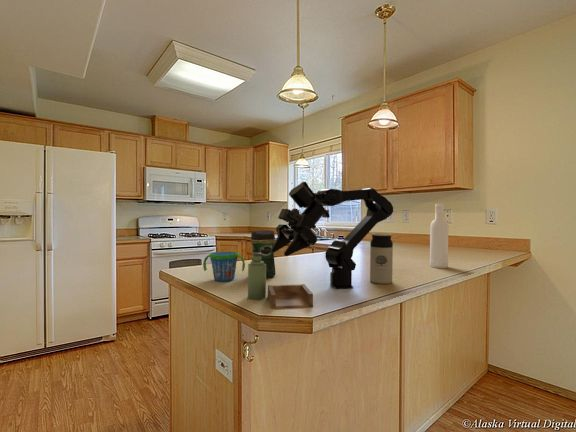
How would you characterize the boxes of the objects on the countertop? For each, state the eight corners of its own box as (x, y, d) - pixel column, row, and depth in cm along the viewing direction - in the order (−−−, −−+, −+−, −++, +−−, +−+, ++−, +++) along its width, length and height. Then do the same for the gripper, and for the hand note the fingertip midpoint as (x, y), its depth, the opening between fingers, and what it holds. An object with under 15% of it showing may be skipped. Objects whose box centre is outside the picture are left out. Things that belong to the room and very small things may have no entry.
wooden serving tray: (304, 295, 97) (304, 284, 97) (313, 307, 85) (313, 293, 85) (267, 297, 95) (267, 285, 95) (271, 308, 84) (271, 295, 84)
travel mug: (373, 278, 122) (373, 232, 122) (394, 281, 118) (394, 233, 118) (367, 282, 115) (367, 233, 115) (389, 285, 111) (390, 234, 111)
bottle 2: (425, 265, 152) (426, 204, 151) (437, 264, 155) (438, 204, 155) (440, 268, 144) (441, 203, 144) (451, 267, 148) (452, 204, 147)
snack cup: (198, 281, 115) (198, 254, 115) (210, 276, 125) (210, 250, 125) (239, 283, 112) (239, 255, 112) (248, 277, 123) (248, 251, 123)
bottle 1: (264, 294, 98) (265, 251, 98) (266, 299, 93) (267, 254, 92) (247, 295, 97) (248, 251, 97) (248, 300, 92) (248, 254, 91)
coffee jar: (270, 273, 131) (270, 229, 130) (277, 277, 123) (278, 230, 123) (248, 275, 127) (248, 229, 126) (254, 279, 119) (254, 230, 119)
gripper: (281, 201, 108) (251, 233, 104) (308, 199, 92) (274, 238, 87) (301, 223, 112) (272, 256, 107) (330, 225, 95) (298, 264, 90)
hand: (278, 253), depth 98 cm, fingers open, 9 cm apart
